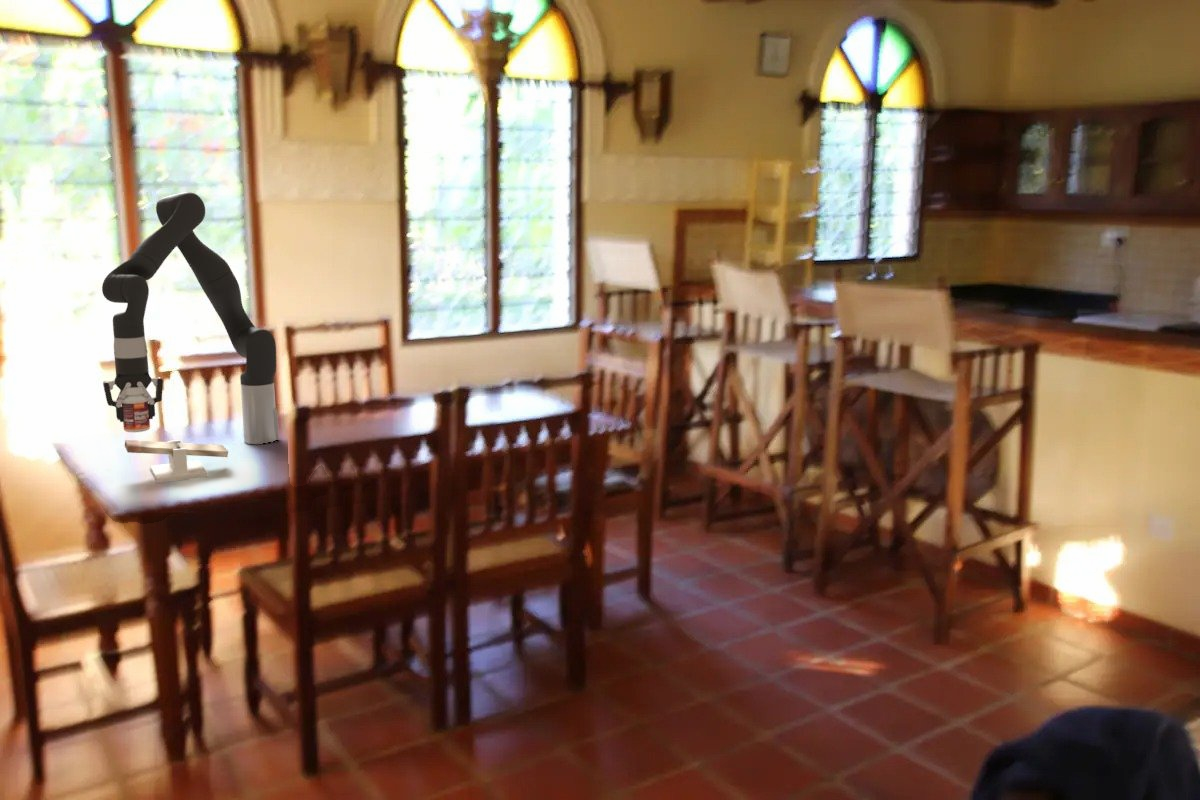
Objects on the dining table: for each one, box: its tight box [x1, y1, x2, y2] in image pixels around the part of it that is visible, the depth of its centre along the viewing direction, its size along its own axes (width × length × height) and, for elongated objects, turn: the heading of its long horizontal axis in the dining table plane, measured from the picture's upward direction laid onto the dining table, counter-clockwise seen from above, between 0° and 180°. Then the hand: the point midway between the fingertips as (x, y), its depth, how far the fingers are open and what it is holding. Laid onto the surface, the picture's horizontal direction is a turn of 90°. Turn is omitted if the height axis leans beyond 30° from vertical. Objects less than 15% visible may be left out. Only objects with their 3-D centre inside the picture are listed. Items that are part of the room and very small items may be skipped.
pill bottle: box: [121, 387, 151, 433], centre depth 265 cm, size 6×6×11 cm
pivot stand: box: [149, 439, 209, 483], centre depth 272 cm, size 12×14×8 cm
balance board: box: [124, 439, 229, 458], centre depth 272 cm, size 24×8×2 cm, turn 120°
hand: (136, 419), depth 266 cm, fingers closed on pill bottle, 6 cm apart
